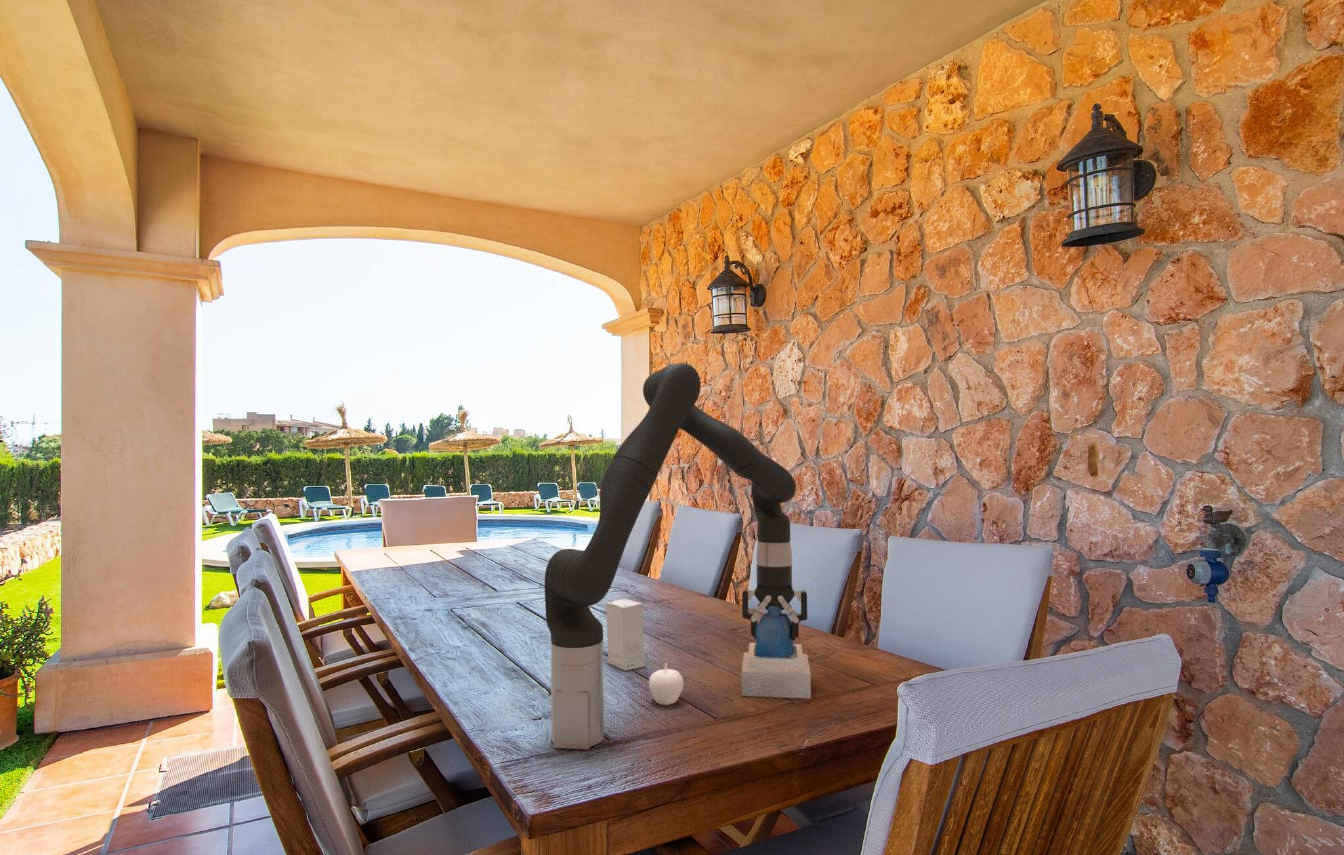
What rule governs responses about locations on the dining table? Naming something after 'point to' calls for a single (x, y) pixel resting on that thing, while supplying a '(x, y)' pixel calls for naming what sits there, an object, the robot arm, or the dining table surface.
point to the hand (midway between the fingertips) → (774, 638)
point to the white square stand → (776, 675)
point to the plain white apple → (666, 685)
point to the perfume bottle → (774, 633)
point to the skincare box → (625, 634)
